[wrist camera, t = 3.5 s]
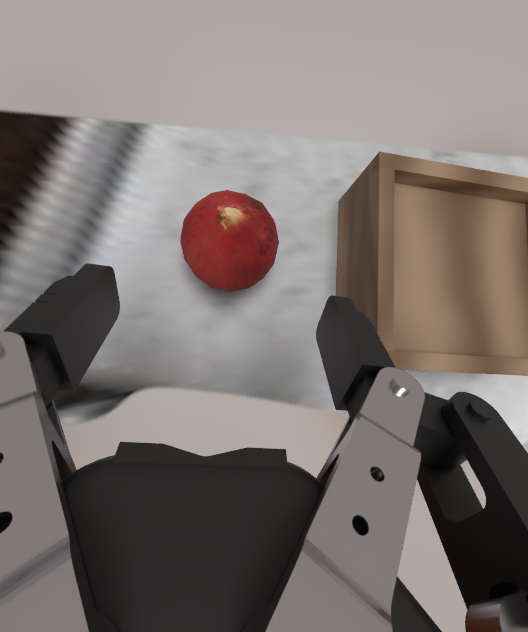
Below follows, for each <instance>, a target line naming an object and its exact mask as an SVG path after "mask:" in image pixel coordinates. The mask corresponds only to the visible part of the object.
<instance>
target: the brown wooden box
mask: <svg viewBox="0 0 528 632" xmlns="http://www.w3.org/2000/svg"><path fill="white" fill-rule="evenodd" d="M336 296H340V297H348V298H351V299H352V301H353V303H354V305H355V307H356V309H357V311H359V312H362V313H363V314H364V315H365V316H366V317H367V318H368V319H369V320H370V321H371V322H372V324H373V326H374V328H375V330H376V332H377V334H378V335H379V337H380V341H382V343H383V345H384V347H385V348H386V350H387V352H388V354H389V356H390V358H391V360H392V362H393V363H394V365H395V367H396V368H397V369H407V370H427V371H446V372H465V373H485V374H504V375H523V376H528V178H524V177H519V176H513V175H508V174H502V173H496V172H491V171H485V170H479V169H474V168H468V167H463V166H457V165H451V164H446V163H440V162H435V161H429V160H423V159H418V158H412V157H407V156H401V155H395V154H390V153H384V152H379V153H378V154H377V155H376V157H375V158H374V159H373V160H372V161H371V163H370V164H369V165H368V166H367V168H366V169H365V170H364V171H363V172H362V174H361V175H360V176H359V177H358V178H357V180H356V181H355V182H354V183H353V184H352V186H351V187H350V188H349V189H348V191H347V192H346V193H345V194H344V195H343V197H342V198H341V199H340V200H339V210H338V244H337V277H336Z"/></svg>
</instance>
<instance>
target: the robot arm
mask: <svg viewBox="0 0 528 632" xmlns="http://www.w3.org/2000/svg"><path fill="white" fill-rule="evenodd" d="M119 310H120V302H119V296H118V290H117V285H116V279H115V273H114V270H113V268H112V267H110V266H103V265H95V264H85V265H84V266H83V267H82V268H81V269H80V270H79V271H78V272H77V273H76V274H75V275H74V276H67V277H65V278H63V279H61V280H59V281H57V282H55V283H53V284H52V285H51V286H50V287H49V288H48V289H47V290H46V291H45V292H44V295H43V294H42V295H41V296H40V297H39V298H37V299H36V302H35V303H34V302H33V303H32V304H31V305H30V306H29V307H28V308H27V309H26V310H25V311H24V312H23V313H22V314H21V315H20V316H19V317H18V318H17V319H16V320H15V321H14V322H13V323H11V324H10V325H9V326H8V327H7V328H6V329H5V330H4V331H0V632H442V631H441V630H440V629H439V628H438V626H437V625H436V624H435V623H434V621H433V620H432V619H431V618H430V616H429V615H428V614H427V613H426V611H425V610H424V609H423V608H422V607H421V605H420V604H419V603H418V602H417V600H416V599H415V598H414V597H413V595H412V594H411V593H410V592H409V590H408V589H407V588H406V587H405V585H404V584H403V583H402V582H401V581H400V579H399V578H398V577H397V573H398V568H399V563H400V558H401V553H402V549H403V543H404V538H405V534H406V529H407V524H408V519H409V514H410V509H411V504H412V499H413V495H414V490H415V485H416V480H418V482H419V485H420V488H421V490H422V493H423V495H424V498H425V501H426V503H427V506H428V508H429V511H430V514H431V516H432V519H433V522H434V524H435V527H436V529H437V532H438V534H439V537H440V539H441V542H442V545H443V547H444V550H445V553H446V555H447V558H448V560H449V563H450V566H451V568H452V571H453V573H454V576H455V579H456V581H457V584H458V586H459V589H460V591H461V594H462V597H463V599H464V602H465V604H466V607H467V610H468V611H467V614H466V620H465V627H466V632H528V453H527V452H526V450H525V449H524V448H523V446H522V445H521V443H520V442H519V441H518V439H517V438H516V437H515V435H514V434H513V432H512V431H511V430H510V428H509V427H508V426H507V424H506V423H505V421H504V420H503V419H502V417H501V416H500V415H499V413H498V412H497V411H496V410H495V409H494V408H493V407H492V406H491V405H490V404H488V403H487V402H486V401H484V400H483V399H481V398H479V397H478V396H475V395H473V394H470V393H467V392H458V393H456V394H454V395H453V396H452V397H451V398H450V399H449V400H445V399H442V398H439V397H436V396H434V395H431V394H428V393H425V392H424V390H423V388H422V386H421V385H420V384H419V382H418V381H417V380H416V379H415V378H414V377H412V376H411V375H410V374H408V373H407V372H405V371H403V370H400V369H397V368H396V367H395V365H394V363H393V362H392V360H391V358H390V356H389V354H388V352H387V350H386V348H385V347H384V345H383V343H382V341H380V337H379V335H378V334H377V332H376V330H375V328H374V326H373V324H372V322H371V321H370V320H369V319H368V318H367V317H366V316H365V315H364V314H363V313H362V312H359V311H357V309H356V307H355V305H354V303H353V301H352V299H351V298H348V297H340V296H330V297H329V298H328V300H327V303H326V305H325V308H324V310H323V313H322V316H321V318H320V321H319V323H318V326H317V331H316V339H317V343H318V347H319V351H320V354H321V358H322V361H323V365H324V369H325V372H326V376H327V380H328V383H329V387H330V391H331V394H332V398H333V402H334V405H335V409H336V410H346V411H348V413H349V416H350V417H349V418H348V420H347V422H346V423H345V425H344V427H343V429H342V431H341V434H340V435H339V437H338V439H337V441H336V443H335V445H334V447H333V449H332V451H331V453H330V455H329V457H328V459H327V461H326V463H325V465H324V466H323V468H322V470H321V472H320V473H319V475H318V477H317V478H315V477H314V476H312V475H311V474H310V473H308V472H307V471H305V470H304V469H302V468H301V467H299V466H296V465H294V464H292V463H289V462H287V457H286V450H285V449H265V448H244V449H239V450H235V451H230V452H226V453H221V454H217V455H212V456H208V457H205V456H200V455H197V454H193V453H190V452H187V451H184V450H181V449H178V448H175V447H172V446H169V445H165V444H155V443H133V442H120V444H119V446H118V449H117V452H116V454H115V455H114V456H109V457H106V458H103V459H100V460H97V461H95V462H92V463H90V464H88V465H86V466H84V467H82V468H80V469H78V470H76V467H75V465H74V462H73V460H72V458H71V455H70V452H69V449H68V446H67V442H66V439H65V436H64V433H63V430H62V426H61V423H60V419H59V416H58V413H57V410H56V406H55V403H54V401H53V398H54V396H55V395H56V393H57V391H58V390H65V391H75V389H76V387H77V386H78V384H79V382H80V381H81V379H82V377H83V376H84V374H85V372H86V371H87V369H88V367H89V365H90V364H91V362H92V360H93V359H94V357H95V355H96V354H97V352H98V350H99V349H100V347H101V345H102V343H103V342H104V340H105V338H106V337H107V335H108V333H109V332H110V330H111V328H112V327H113V325H114V323H115V321H116V320H117V318H118V315H119ZM466 460H468V462H469V464H470V466H471V467H472V469H473V471H474V473H475V475H476V477H477V478H478V480H479V482H480V484H481V486H482V487H483V490H484V492H485V496H486V505H485V508H484V509H483V508H482V506H481V504H480V502H479V500H478V498H477V496H476V494H475V492H474V490H473V488H472V486H471V484H470V483H469V481H468V479H467V477H466V475H465V473H464V471H463V469H462V467H461V465H460V464H462V463H463V462H464V461H466Z"/></svg>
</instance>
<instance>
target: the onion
mask: <svg viewBox="0 0 528 632" xmlns="http://www.w3.org/2000/svg"><path fill="white" fill-rule="evenodd" d="M278 244H279V241H278V235H277V230H276V225H275V222H274V219H273V218H272V217H271V215H270V214H269V212H268V211H267V209H266V208H265V206H264V205H263V203H261V202H260V201H258V200H255V199H254V198H252V197H250V196H248V195H246V194H242V193H237V192H233V191H229V190H225V191H220V192H214V193H211V194H209V195H208V196H206V197H205V198H203V199H202V200H200V201H199V202H197V203H196V204H195V205H194V207H193V208H192V209H191V211H190V212H189V213H188V214H187V216H186V217H185V219H184V222H183V228H182V234H181V246H182V250H183V254H184V259H185V261H186V262H187V264H188V265H189V267H190V268H191V269H192V271H193V272H194V274H195V275H196V276H197V277H198V278H200V279H201V280H203V281H204V282H205V283H207V284H208V285H210V286H211V287H214V288H219V289H223V290H227V291H235V290H240V289H245V288H249V287H251V286H252V285H254V284H255V283H257V282H258V281H260V280H261V279H263V278H264V277H265V275H266V274H267V273H268V271H269V270H270V269H271V267H272V266H273V265H274V261H275V257H276V253H277V248H278Z"/></svg>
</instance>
